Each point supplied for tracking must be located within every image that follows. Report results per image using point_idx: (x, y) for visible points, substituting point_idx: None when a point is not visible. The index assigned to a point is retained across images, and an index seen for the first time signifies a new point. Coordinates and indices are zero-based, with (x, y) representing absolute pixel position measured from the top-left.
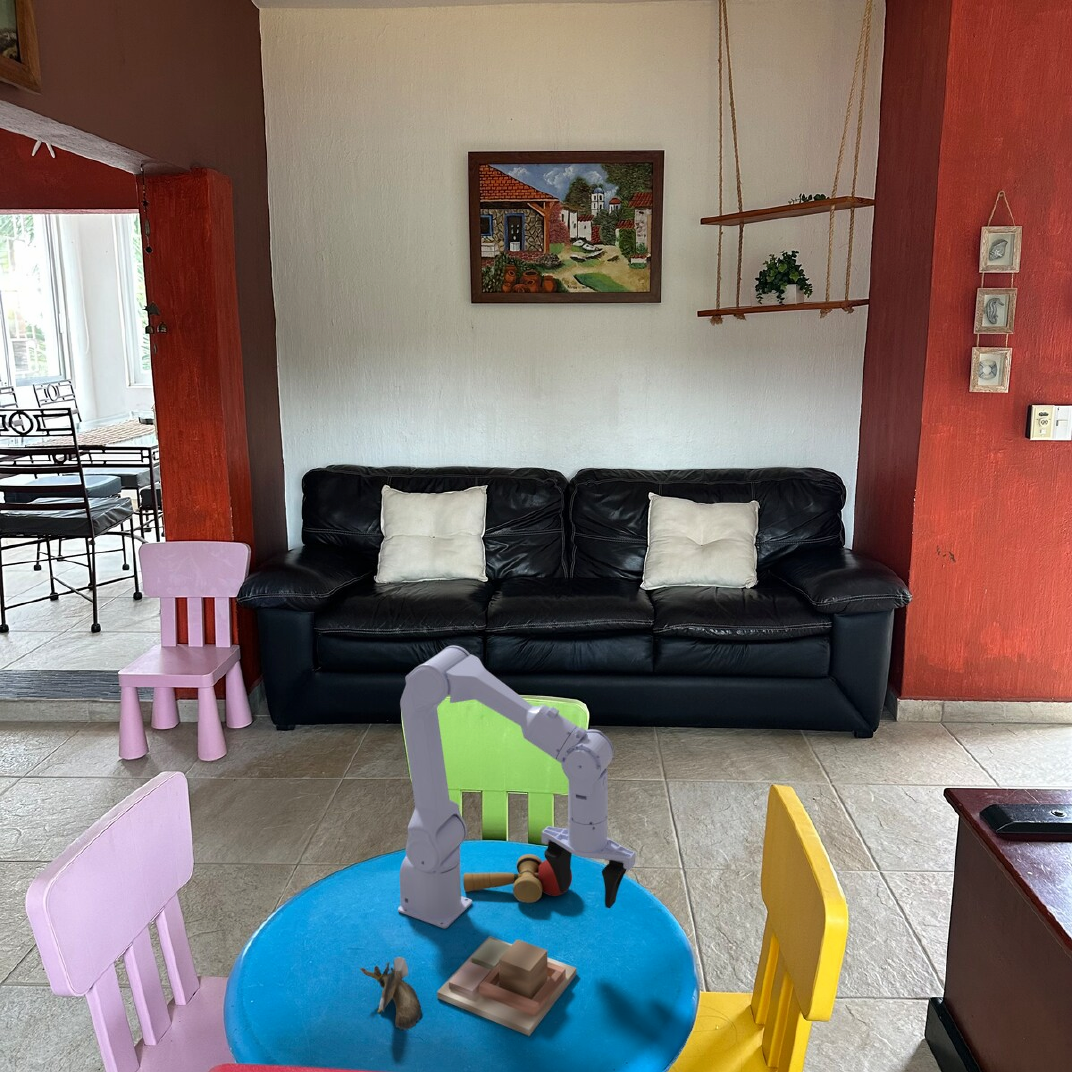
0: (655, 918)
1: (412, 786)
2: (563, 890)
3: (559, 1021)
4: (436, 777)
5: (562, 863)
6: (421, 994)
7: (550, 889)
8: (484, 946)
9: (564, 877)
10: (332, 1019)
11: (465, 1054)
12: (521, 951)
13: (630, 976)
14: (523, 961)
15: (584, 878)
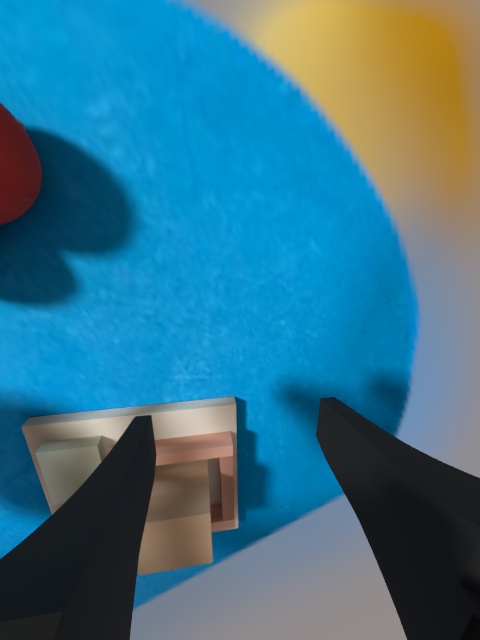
0: (312, 140)
1: None
2: (155, 463)
3: (260, 480)
4: None
5: (124, 603)
6: None
7: (5, 223)
8: (48, 474)
9: (142, 495)
10: None
11: (182, 571)
12: (164, 541)
13: (322, 351)
14: (186, 555)
15: (24, 28)
